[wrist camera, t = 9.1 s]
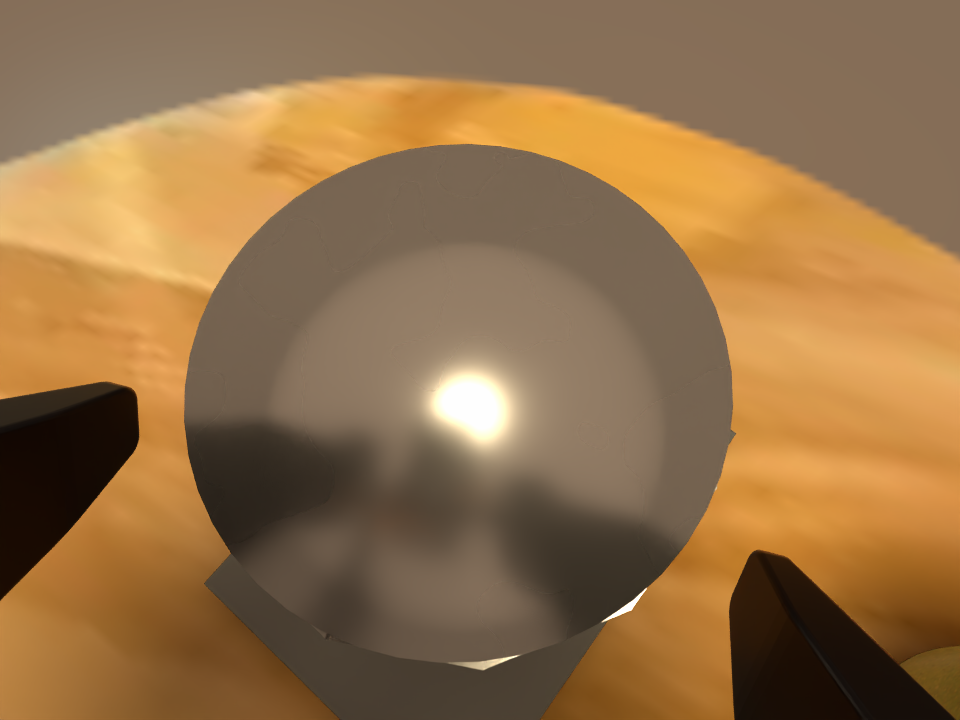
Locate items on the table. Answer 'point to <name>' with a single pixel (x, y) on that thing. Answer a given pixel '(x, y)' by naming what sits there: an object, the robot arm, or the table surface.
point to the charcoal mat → (399, 666)
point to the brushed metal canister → (458, 404)
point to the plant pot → (938, 675)
